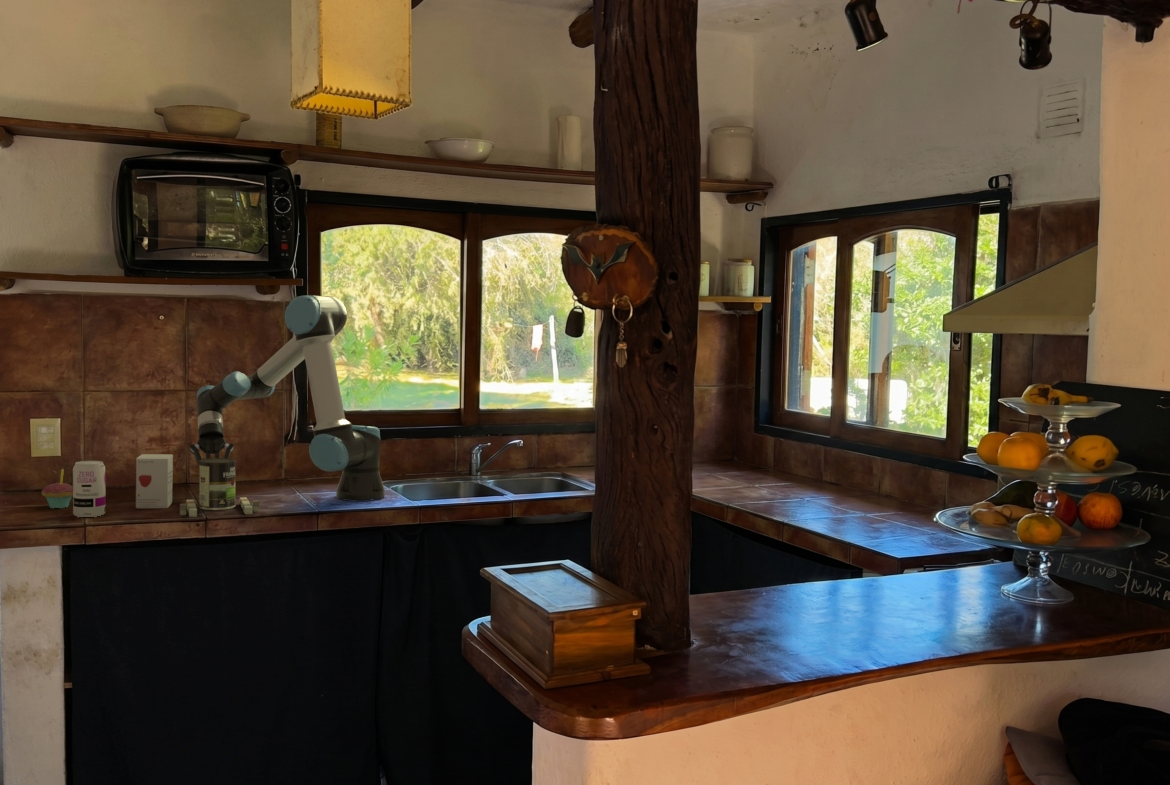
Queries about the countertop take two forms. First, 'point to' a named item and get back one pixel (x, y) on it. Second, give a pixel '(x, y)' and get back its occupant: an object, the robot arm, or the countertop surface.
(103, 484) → the supplement can
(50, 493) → the cupcake
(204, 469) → the coffee can
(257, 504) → the slot track
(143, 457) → the supplement box
